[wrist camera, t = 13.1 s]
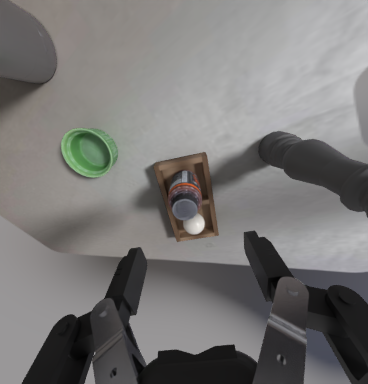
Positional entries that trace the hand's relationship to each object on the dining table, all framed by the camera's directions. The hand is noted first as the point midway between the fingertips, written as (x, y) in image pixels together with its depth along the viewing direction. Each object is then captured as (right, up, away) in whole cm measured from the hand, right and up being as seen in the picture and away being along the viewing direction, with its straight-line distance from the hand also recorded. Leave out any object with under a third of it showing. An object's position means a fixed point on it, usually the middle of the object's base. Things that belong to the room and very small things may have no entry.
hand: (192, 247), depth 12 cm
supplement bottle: (0, +7, +22) cm, 23 cm away
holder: (+1, +3, +25) cm, 25 cm away
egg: (+2, -2, +26) cm, 26 cm away
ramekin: (-18, +13, +20) cm, 30 cm away
